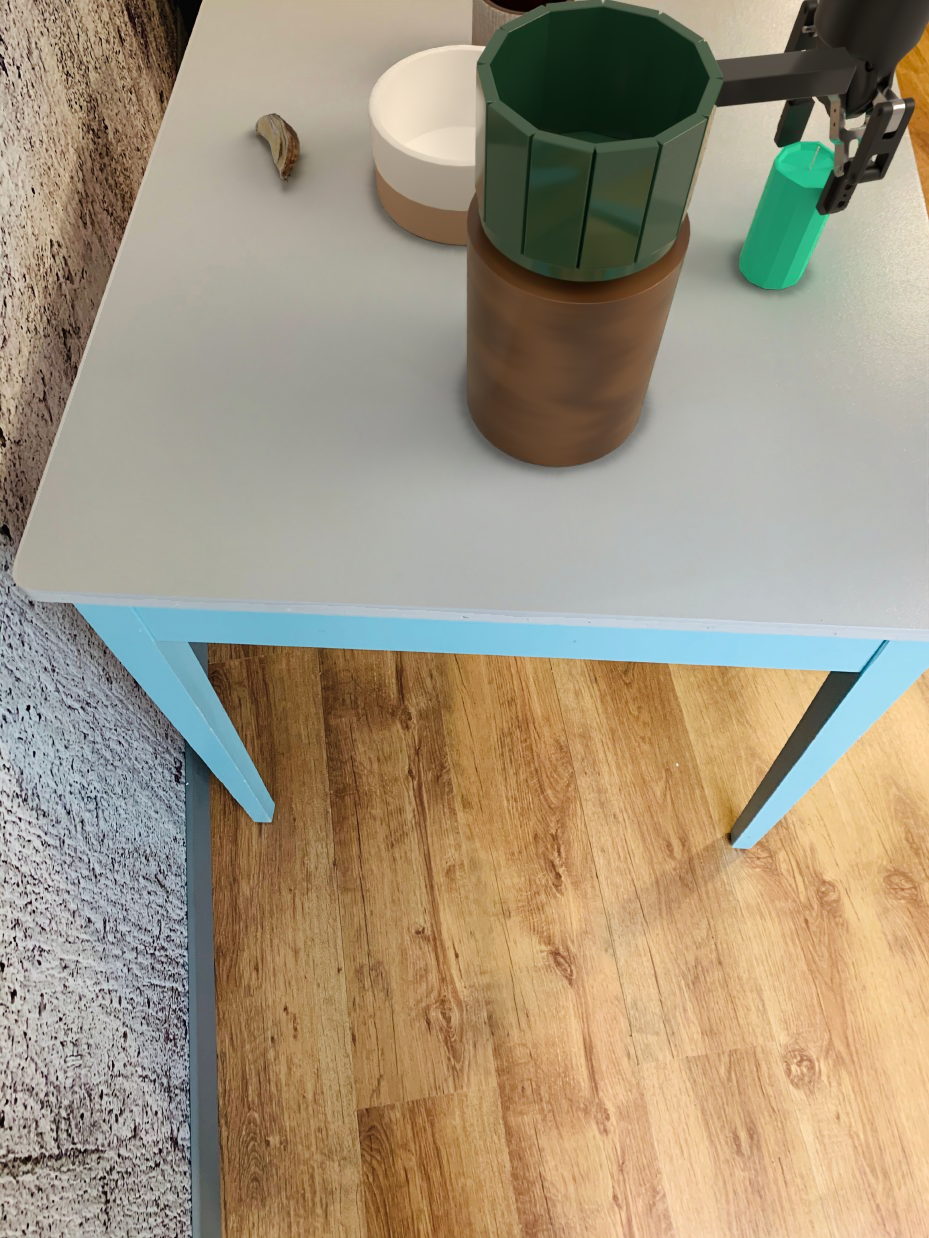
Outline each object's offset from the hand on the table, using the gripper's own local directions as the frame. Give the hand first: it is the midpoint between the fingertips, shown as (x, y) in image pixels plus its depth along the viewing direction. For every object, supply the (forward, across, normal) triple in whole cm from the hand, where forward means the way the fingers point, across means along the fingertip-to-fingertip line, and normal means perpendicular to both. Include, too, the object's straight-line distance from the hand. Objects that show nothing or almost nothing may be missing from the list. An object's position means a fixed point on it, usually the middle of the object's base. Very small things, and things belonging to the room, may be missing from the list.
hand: (806, 176), depth 71 cm
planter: (+10, +32, +15) cm, 37 cm away
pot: (-9, -10, +20) cm, 24 cm away
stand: (+9, -10, +24) cm, 27 cm away
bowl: (+10, +18, +25) cm, 32 cm away
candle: (+10, 0, 0) cm, 10 cm away
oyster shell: (+10, +26, +42) cm, 50 cm away
